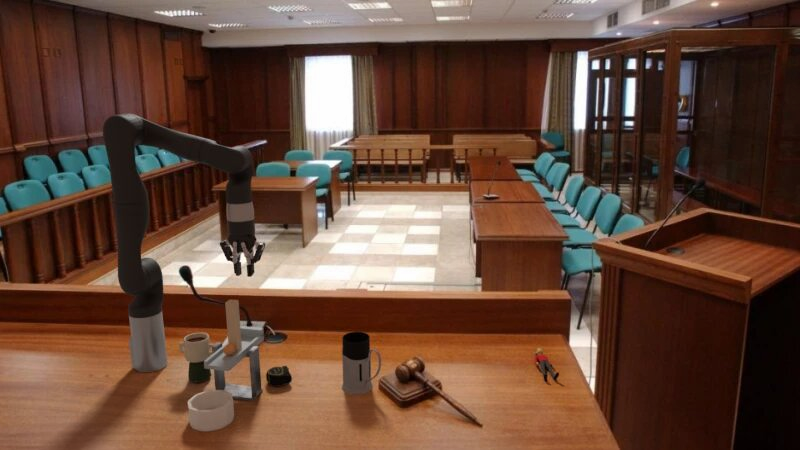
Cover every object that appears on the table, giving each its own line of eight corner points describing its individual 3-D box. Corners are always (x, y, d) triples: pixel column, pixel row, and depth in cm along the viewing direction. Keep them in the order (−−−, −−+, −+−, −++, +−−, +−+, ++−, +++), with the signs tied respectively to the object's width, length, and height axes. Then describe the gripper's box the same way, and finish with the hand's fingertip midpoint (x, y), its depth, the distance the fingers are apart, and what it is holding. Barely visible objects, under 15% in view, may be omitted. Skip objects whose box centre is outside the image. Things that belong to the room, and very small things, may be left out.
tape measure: (292, 386, 179) (292, 374, 178) (268, 390, 177) (267, 377, 176) (289, 375, 186) (288, 363, 185) (265, 379, 183) (264, 367, 183)
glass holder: (358, 376, 184) (357, 328, 181) (392, 393, 175) (392, 342, 171) (335, 386, 178) (333, 337, 175) (368, 405, 169) (367, 353, 165)
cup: (180, 429, 158) (178, 409, 157) (205, 406, 169) (203, 387, 167) (219, 434, 155) (217, 414, 154) (241, 411, 166) (240, 392, 165)
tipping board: (201, 370, 164) (196, 313, 160) (239, 339, 183) (235, 287, 179) (232, 373, 162) (227, 316, 158) (267, 341, 181) (263, 290, 177)
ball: (221, 356, 168) (220, 346, 167) (227, 352, 171) (226, 341, 170) (231, 358, 167) (231, 347, 166) (237, 353, 170) (236, 342, 169)
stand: (212, 396, 174) (208, 348, 170) (224, 385, 179) (220, 339, 176) (254, 401, 171) (250, 353, 167) (264, 390, 176) (261, 344, 173)
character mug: (223, 374, 186) (219, 333, 183) (212, 386, 179) (209, 343, 176) (188, 372, 188) (184, 331, 184) (176, 383, 181) (172, 341, 178)
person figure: (544, 368, 180) (533, 341, 197) (539, 380, 181) (529, 352, 198) (561, 373, 180) (549, 346, 197) (556, 385, 181) (544, 357, 198)
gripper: (211, 219, 177) (216, 277, 181) (257, 221, 174) (261, 281, 178) (224, 213, 184) (229, 270, 188) (269, 215, 181) (272, 273, 185)
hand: (244, 275), depth 183 cm, fingers open, 3 cm apart
